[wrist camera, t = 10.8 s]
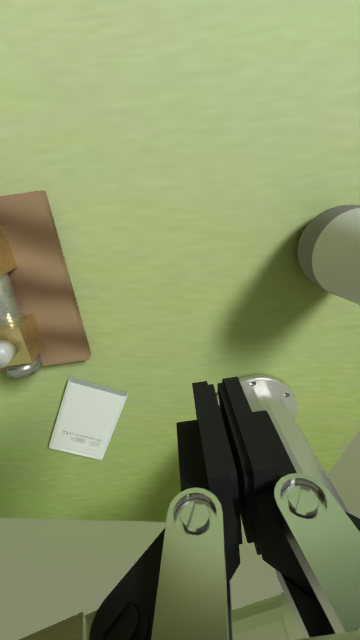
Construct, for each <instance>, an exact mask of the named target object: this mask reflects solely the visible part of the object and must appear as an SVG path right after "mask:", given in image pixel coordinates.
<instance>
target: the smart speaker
mask: <svg viewBox="0 0 360 640" xmlns="http://www.w3.org/2000/svg"><path fill="white" fill-rule="evenodd" d="M297 256H298V262H299V265H300V267H301V269H302V271H303V273H304V274H305V275H306V277H307V278H308V279H309V280H310V281H311V282H312V283H314V284H315V285H317V286H318V287H320V288H322V289H324V290H326V291H328V292H330V293H332V294H334V295H337V296H339V297H342V298H344V299H347V300H349V301H352V302H354V303H357V304H359V305H360V205H343V206H338V207H334V208H331V209H328V210H326V211H324V212H322V213H321V214H319V215H318V216H316V217H315V218H314V219H313V220H312V221H311V222H310V223H309V224H308V225H307V226H306V228H305V229H304V231H303V233H302V235H301V237H300V240H299V243H298V250H297Z"/></svg>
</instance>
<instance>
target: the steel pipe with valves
mask: <svg viewBox="0 0 360 640" xmlns="http://www.w3.org/2000/svg"><path fill="white" fill-rule="evenodd" d="M16 267H17V265H16V262H15V259H14V256H13V253H12V250H11V247H10V245H9V242H8V239H7V236H6V233H5V230H4V227H3V226H0V340H7V341H9V342H11V343H12V344H13V345H14V346H15V348H16V355H15V356H14V357H13V359H12V360H11V361H10V362H9V363H8V364H7V366H5V367H4V370H5V372H6V374H7V377H8V378H10V379H21V378H25V377H28V376H30V375H32V374H34V373H36V372H37V371H39V370H40V369H41V368H42V366H43V363H42V360H41V357H40V355H39V353H40V352H41V350H42V349H43V348H44V346H45V345H44V342H43V340H42V337H41V334H40V331H39V328H38V325H37V322H36V319H35V317H34V314H33V313H32V314H25V315H23V313H22V311H21V308H20V305H19V302H18V300H17V297H16V294H15V291H14V289H13V286H12V283H11V280H10V278H9V275H8V272H9V271H11V270H13V269H14V268H16Z"/></svg>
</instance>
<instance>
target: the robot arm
mask: <svg viewBox="0 0 360 640" xmlns="http://www.w3.org/2000/svg"><path fill="white" fill-rule="evenodd" d="M192 385H193V393H194V400H195V408H196V415H197V420H192V421H185V422H178V423H177V438H178V452H179V467H180V481H181V492H180V493H179V494H178V495H177V496H175V497H174V499H173V500H172V502H171V503H170V505H169V509H168V512H167V519H166V527H165V529H164V530H163V531H162V532H161V533H160V535H159V536H158V537H157V538H156V539H155V541H154V542H153V543H152V544H151V545H150V546H149V548H148V549H147V550H146V551H145V552H144V554H143V555H142V556H141V557H140V558H139V560H138V561H137V562H136V563H135V565H134V566H133V567H132V568H131V569H130V570H129V571H128V573H127V574H126V575H125V576H124V577H123V579H122V580H121V581H120V582H119V583H118V585H117V586H116V587H115V588H114V589H113V590H112V592H111V593H110V594H109V595H108V596H107V598H106V599H105V600H104V601H103V603H102V604H101V606H100V607H99V609H98V610H96V611H94V612H92V613H89V614H87V615H85V616H84V614H83V612H81V613H79V614H77V615H75V616H72V617H70V618H68V619H66V620H63V621H61V622H58V623H56V624H54V625H52V626H49V627H47V628H45V629H43V630H40V631H38V632H36V633H33V634H31V635H29V636H26V637H24V638H22V639H20V640H360V519H359V518H357V517H355V516H353V515H351V514H350V513H349V511H348V509H347V508H346V506H345V504H344V503H343V501H342V499H341V497H340V496H339V494H338V492H337V491H336V489H335V487H334V486H333V484H332V482H331V480H330V479H329V477H328V475H327V473H326V472H325V470H324V468H323V466H322V465H321V463H320V461H319V460H318V458H317V456H316V454H315V453H314V451H313V449H312V448H311V446H310V444H309V442H308V441H307V439H306V437H305V436H304V434H303V432H302V430H301V429H300V427H299V425H298V424H297V422H296V420H295V415H296V410H297V406H296V400H295V397H294V395H293V393H292V392H291V390H290V389H289V387H288V386H287V385H286V384H285V383H283V382H282V381H281V380H279V379H277V378H274V377H271V376H267V375H249V376H245V377H242V378H239V379H238V377H232V378H225V379H222V383H218V394H217V396H216V393H215V389H214V385H213V384H211V385H208V384H207V381H204V382H197V383H192ZM240 515H241V518H240ZM241 519H242V523H243V527H244V531H245V535H246V539H247V542H248V543H252V542H254V544H255V548H256V551H257V554H258V555H259V554H262V558H263V560H264V561H265V562H267V563H268V564H270V565H271V566H272V567H273V568H275V571H276V574H277V578H278V580H279V582H280V584H281V587H282V589H283V591H284V592H282V593H281V594H280V595H277V596H274V597H271V598H268V599H265V600H262V601H259V602H256V603H254V604H250V605H247V606H244V607H241V608H238V609H235V610H232V605H231V587H230V580H231V578H232V576H233V574H234V573H235V571H236V569H237V568H238V566H239V564H240V554H239V544H242V532H241Z"/></svg>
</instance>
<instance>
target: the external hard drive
mask: <svg viewBox="0 0 360 640" xmlns="http://www.w3.org/2000/svg"><path fill="white" fill-rule="evenodd" d="M126 398H127V393H126V392H123V391H119V390H115V389H112V388H108V387H104V386H101V385H97V384H94V383H90V382H86V381H83V380H79V379H75V378H72V377H69V380H68V383H67V386H66V390H65V393H64V396H63V400H62V403H61V406H60V410H59V413H58V417H57V420H56V423H55V427H54V430H53V433H52V437H51V440H50V444H49V448H51V449H55V450H59V451H63V452H68V453H72V454H76V455H81V456H85V457H90V458H94V459H98V460H101V459H103V456H104V454H105V451H106V449H107V446H108V444H109V441H110V439H111V436H112V434H113V431H114V429H115V426H116V424H117V421H118V418H119V416H120V413H121V411H122V408H123V406H124V403H125V401H126Z"/></svg>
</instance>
